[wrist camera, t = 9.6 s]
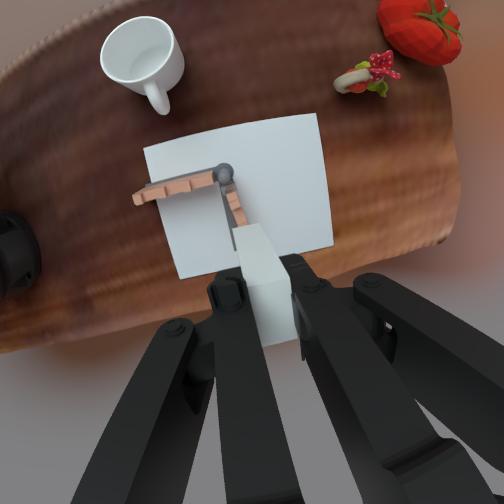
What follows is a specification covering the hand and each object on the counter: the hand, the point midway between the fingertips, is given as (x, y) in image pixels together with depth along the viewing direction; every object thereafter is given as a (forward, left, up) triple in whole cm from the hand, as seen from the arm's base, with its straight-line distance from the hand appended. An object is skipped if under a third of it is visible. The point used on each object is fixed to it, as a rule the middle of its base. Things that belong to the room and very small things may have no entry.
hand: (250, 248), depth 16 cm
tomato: (+32, +22, -25) cm, 46 cm away
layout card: (+1, -2, -25) cm, 25 cm away
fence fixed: (-6, +2, -25) cm, 25 cm away
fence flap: (0, -4, -24) cm, 24 cm away
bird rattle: (+20, +12, -25) cm, 34 cm away
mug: (-7, +17, -25) cm, 31 cm away
